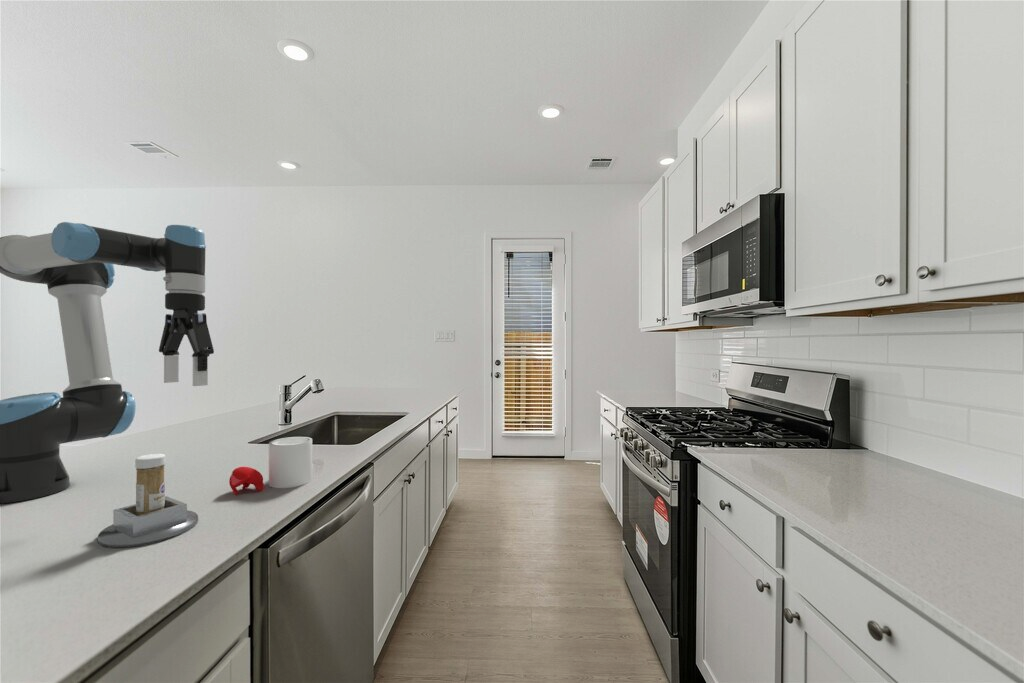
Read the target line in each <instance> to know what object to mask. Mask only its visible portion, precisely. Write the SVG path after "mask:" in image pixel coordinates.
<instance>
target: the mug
mask: <svg viewBox="0 0 1024 683" xmlns="http://www.w3.org/2000/svg"><path fill="white" fill-rule="evenodd" d="M312 481H313V438H311V437H309V436H291V437H290V436H289V437H282V438H277V439H273V440H270V441H269V442H268V486H269V487H272V488H275V489H290V488H296V487H300V486H301V487H302V486H304V485H307V484H308V483H310V482H312Z"/></svg>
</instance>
